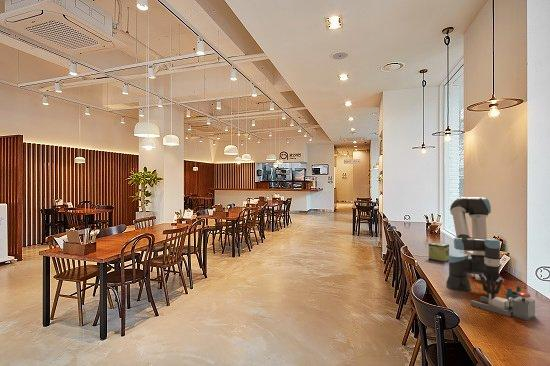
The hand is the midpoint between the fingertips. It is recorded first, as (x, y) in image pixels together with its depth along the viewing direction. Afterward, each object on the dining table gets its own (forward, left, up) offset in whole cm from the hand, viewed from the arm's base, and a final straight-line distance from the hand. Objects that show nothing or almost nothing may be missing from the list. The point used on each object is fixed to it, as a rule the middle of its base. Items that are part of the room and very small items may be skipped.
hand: (490, 304), depth 182 cm
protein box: (-85, -77, -2) cm, 115 cm away
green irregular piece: (-21, +5, -2) cm, 22 cm away
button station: (0, +14, -2) cm, 15 cm away
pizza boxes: (-60, -28, -2) cm, 66 cm away
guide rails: (0, +2, -2) cm, 3 cm away
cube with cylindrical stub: (0, +5, -2) cm, 5 cm away
